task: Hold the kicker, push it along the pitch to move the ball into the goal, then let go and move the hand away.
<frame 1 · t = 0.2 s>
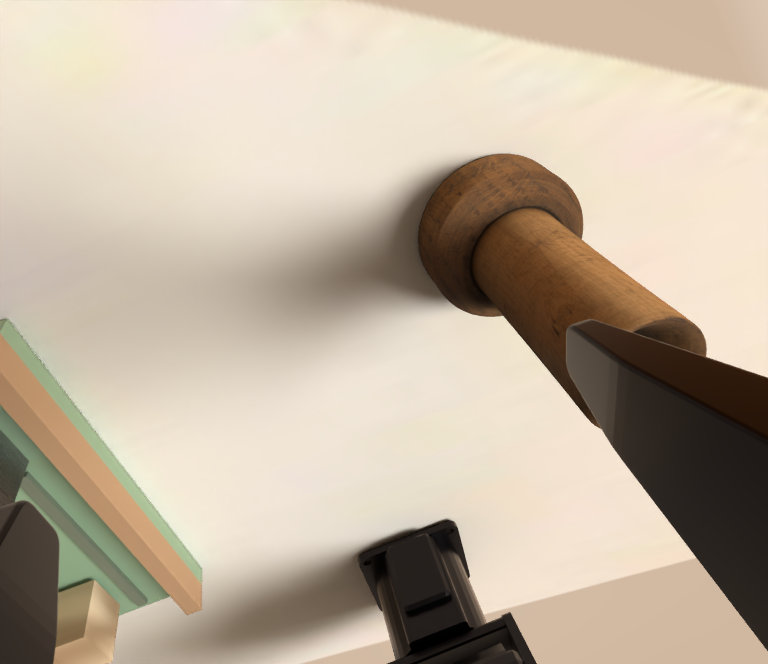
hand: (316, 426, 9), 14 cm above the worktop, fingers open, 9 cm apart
pepper mill: (486, 226, 25), on the worktop
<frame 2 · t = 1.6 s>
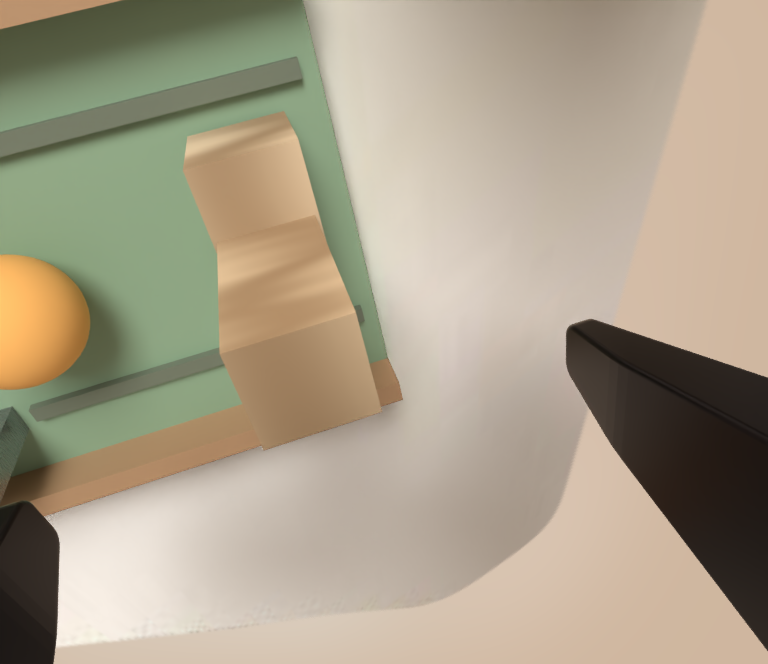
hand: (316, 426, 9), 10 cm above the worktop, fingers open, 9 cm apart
kicker: (284, 287, 13), point 5 cm above the worktop, slide at 0.0 cm
ball: (14, 322, 15), point 3 cm above the worktop, touching pitch
pitch: (57, 270, 17), on the worktop
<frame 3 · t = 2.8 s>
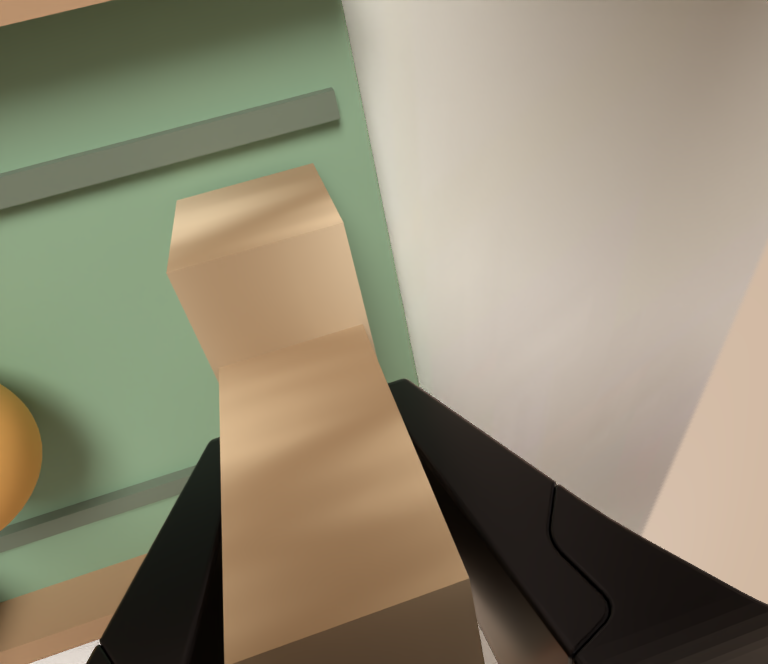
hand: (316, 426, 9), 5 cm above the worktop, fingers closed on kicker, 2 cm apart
kicker: (318, 432, 9), point 5 cm above the worktop, slide at 0.0 cm, touching gripper
pitch: (3, 367, 13), on the worktop
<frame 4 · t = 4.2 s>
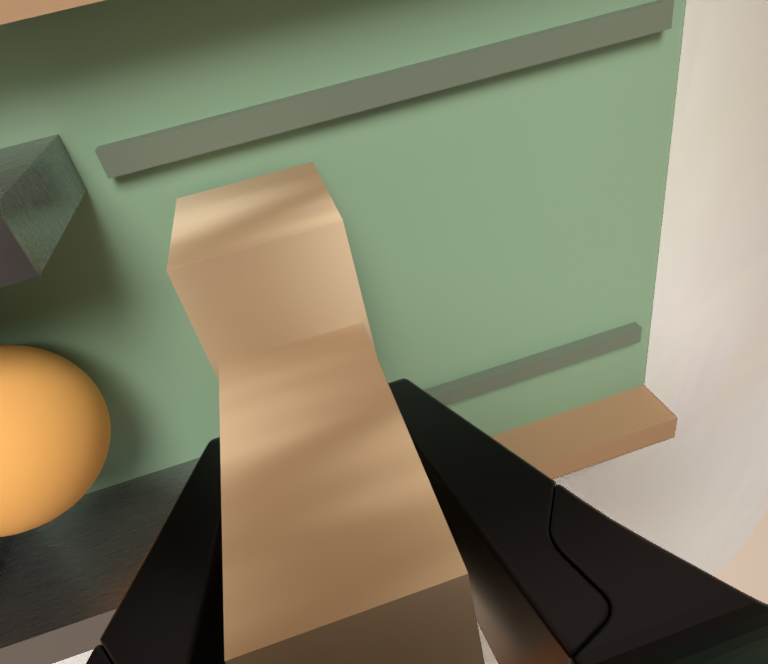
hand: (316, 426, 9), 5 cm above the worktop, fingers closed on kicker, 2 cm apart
kicker: (318, 430, 9), point 5 cm above the worktop, slide at 6.7 cm, touching gripper
ball: (6, 438, 11), point 3 cm above the worktop, tilted 173°, touching pitch
goal: (15, 362, 13), resting on pitch
pitch: (294, 280, 13), on the worktop
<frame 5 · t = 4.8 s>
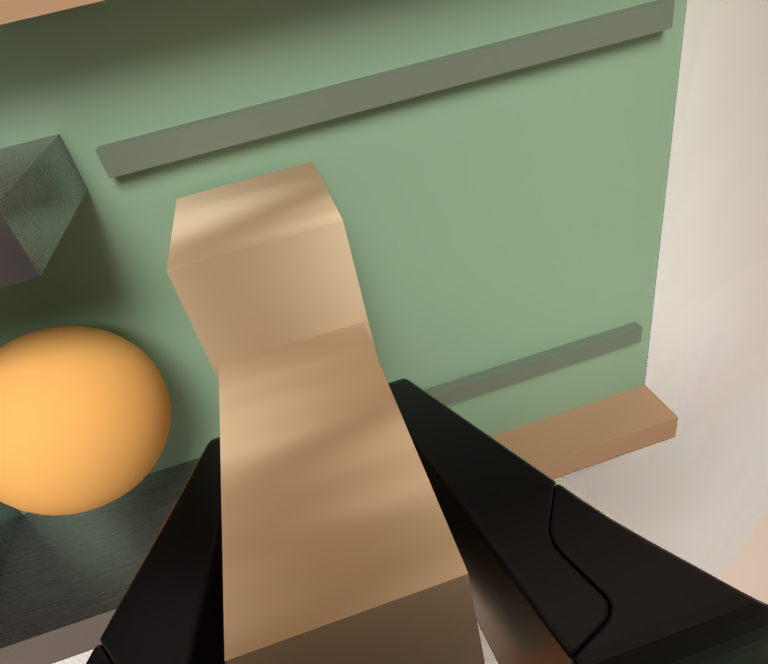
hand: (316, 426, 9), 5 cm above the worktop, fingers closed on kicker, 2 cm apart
kicker: (318, 430, 9), point 5 cm above the worktop, slide at 6.8 cm, touching gripper
ball: (72, 418, 11), point 3 cm above the worktop, tilted 134°, touching pitch
goal: (15, 362, 13), resting on pitch
pitch: (295, 280, 13), on the worktop
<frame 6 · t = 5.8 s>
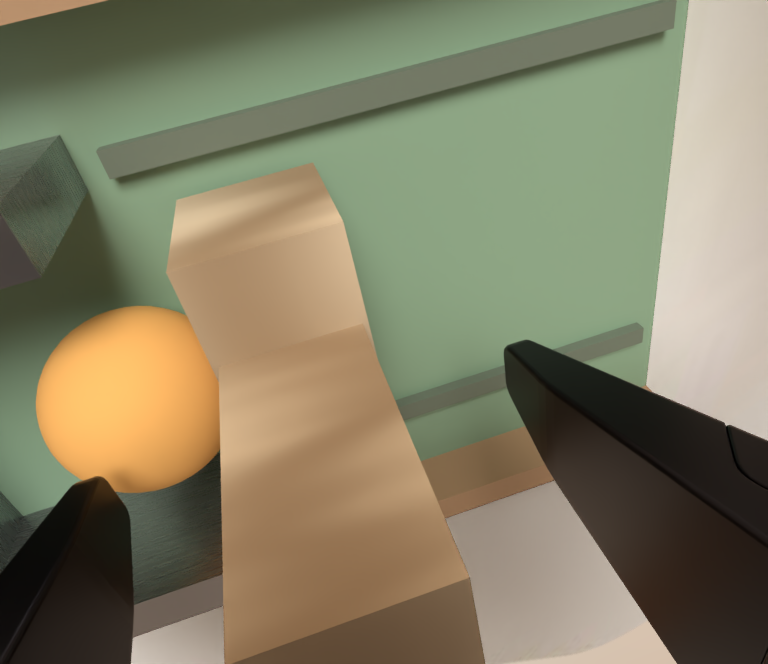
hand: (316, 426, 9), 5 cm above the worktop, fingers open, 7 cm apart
kicker: (318, 432, 9), point 5 cm above the worktop, slide at 6.8 cm
ball: (143, 397, 11), point 3 cm above the worktop, tilted 89°, touching pitch
goal: (16, 364, 13), resting on pitch
pitch: (295, 281, 13), on the worktop
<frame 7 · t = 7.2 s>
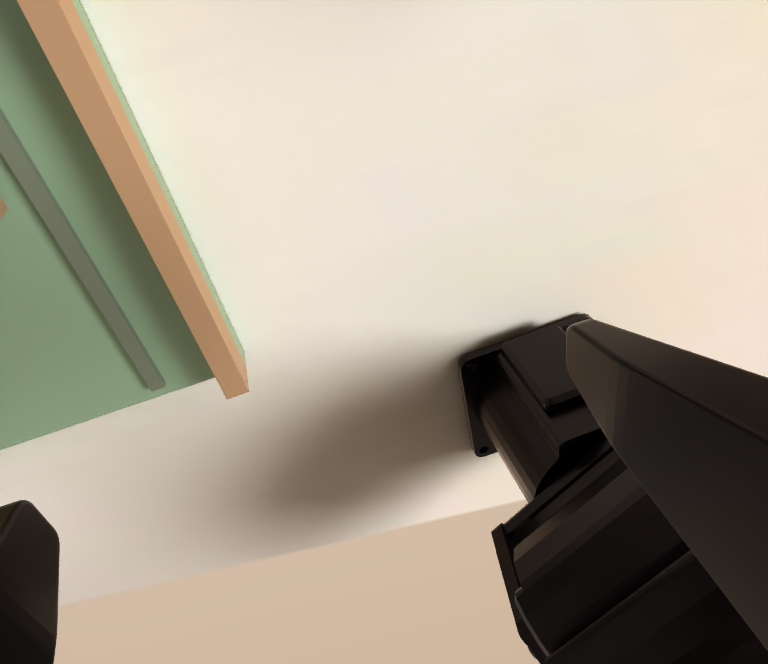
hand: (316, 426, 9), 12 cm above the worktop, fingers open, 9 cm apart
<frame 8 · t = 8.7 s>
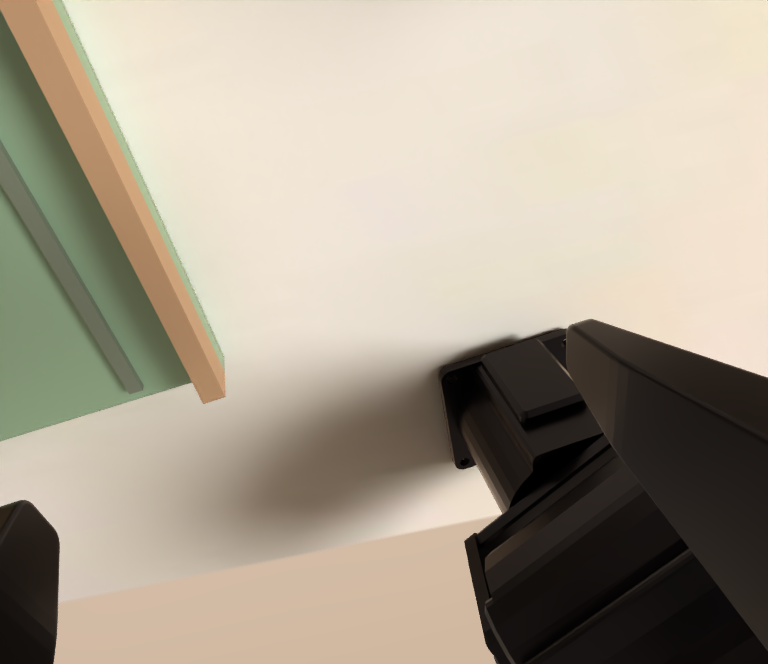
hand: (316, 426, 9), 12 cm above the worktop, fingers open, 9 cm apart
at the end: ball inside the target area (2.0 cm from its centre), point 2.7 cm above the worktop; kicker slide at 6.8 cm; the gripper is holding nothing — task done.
